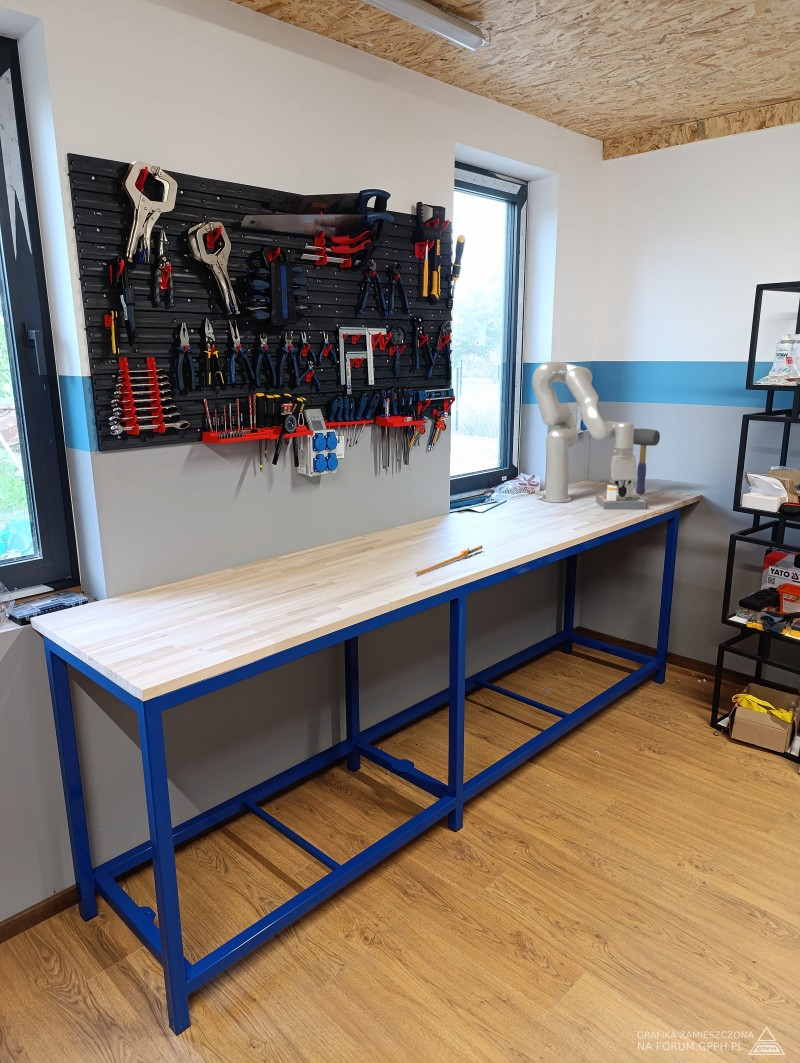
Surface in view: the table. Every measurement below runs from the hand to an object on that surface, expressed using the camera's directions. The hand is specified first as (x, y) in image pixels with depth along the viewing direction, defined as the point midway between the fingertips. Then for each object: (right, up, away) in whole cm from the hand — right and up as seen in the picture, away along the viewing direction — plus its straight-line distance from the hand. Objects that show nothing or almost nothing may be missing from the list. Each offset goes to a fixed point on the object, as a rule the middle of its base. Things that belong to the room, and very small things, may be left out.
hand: (622, 496), depth 300 cm
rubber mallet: (+17, +2, +30) cm, 35 cm away
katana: (-77, -25, -78) cm, 113 cm away
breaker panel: (+1, -4, +5) cm, 7 cm away
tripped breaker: (-4, -1, +1) cm, 5 cm away
